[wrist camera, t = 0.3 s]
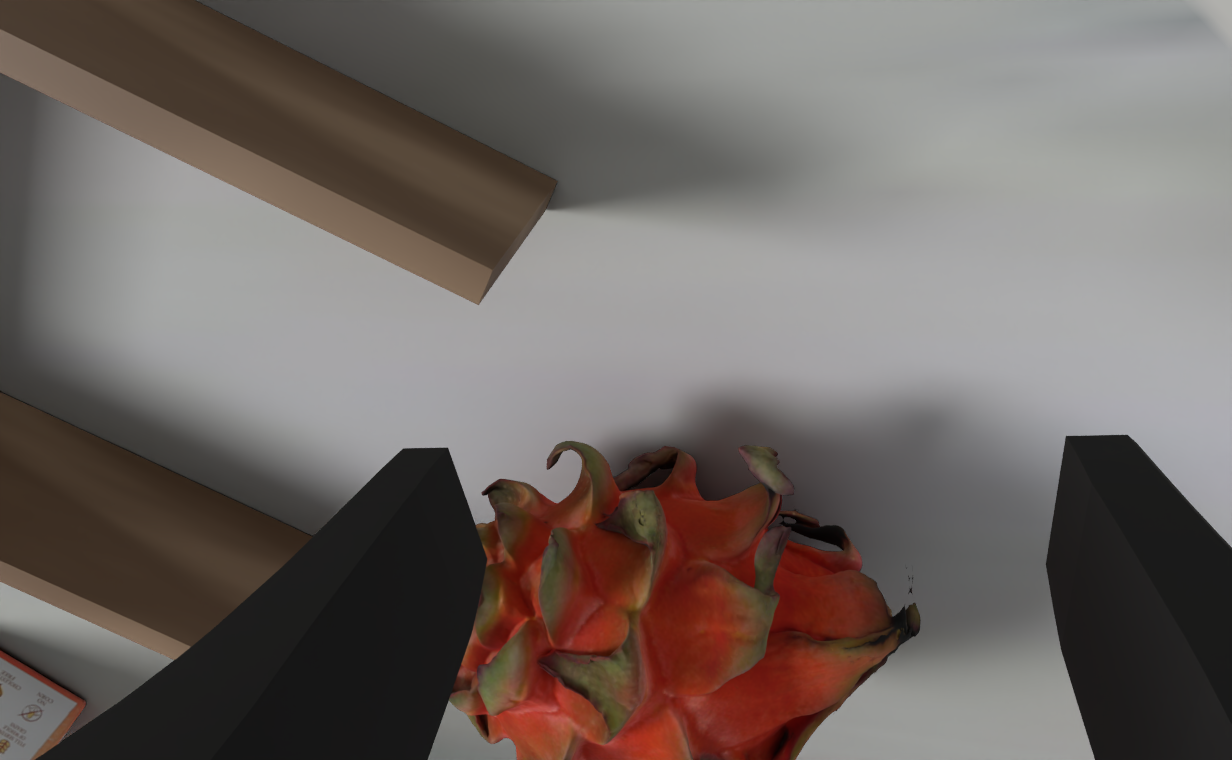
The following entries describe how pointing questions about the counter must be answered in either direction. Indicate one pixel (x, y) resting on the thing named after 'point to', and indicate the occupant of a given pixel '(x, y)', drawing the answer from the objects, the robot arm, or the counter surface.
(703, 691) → the dragon fruit
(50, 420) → the box
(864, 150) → the counter surface
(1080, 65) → the counter surface
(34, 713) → the cracker box
